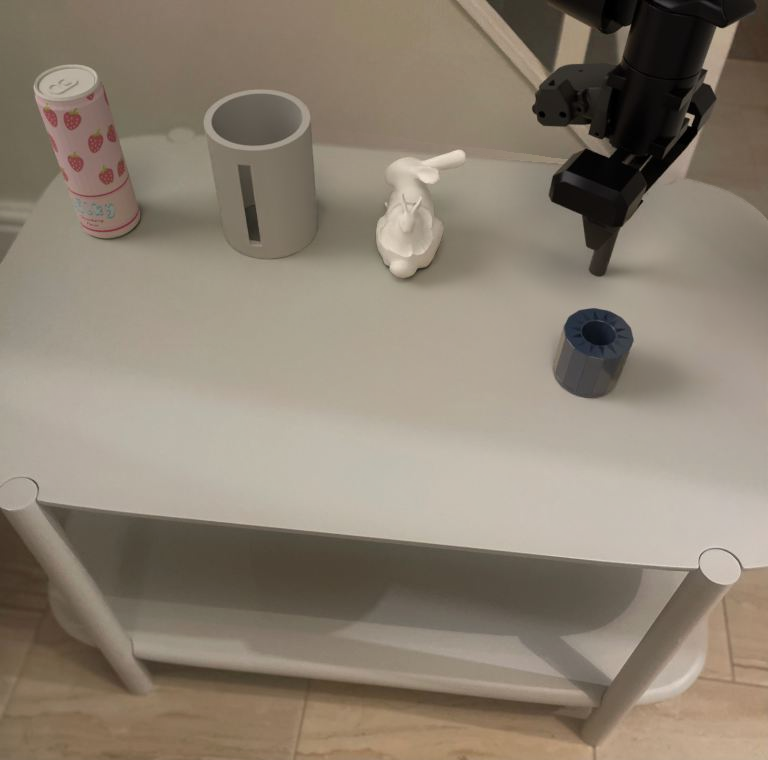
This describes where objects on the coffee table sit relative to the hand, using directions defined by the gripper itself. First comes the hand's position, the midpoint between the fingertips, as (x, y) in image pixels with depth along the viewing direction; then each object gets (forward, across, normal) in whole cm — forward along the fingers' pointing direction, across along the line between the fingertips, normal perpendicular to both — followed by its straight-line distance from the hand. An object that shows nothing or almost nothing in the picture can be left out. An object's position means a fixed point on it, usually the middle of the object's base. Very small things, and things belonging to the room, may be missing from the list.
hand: (611, 224), depth 70 cm
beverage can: (+6, +22, -42) cm, 47 cm away
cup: (+6, +14, -29) cm, 32 cm away
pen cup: (+6, +12, +5) cm, 14 cm away
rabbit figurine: (+6, +7, -16) cm, 18 cm away
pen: (+6, 0, 0) cm, 6 cm away
